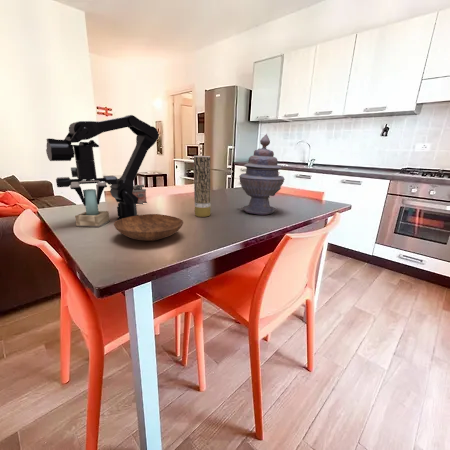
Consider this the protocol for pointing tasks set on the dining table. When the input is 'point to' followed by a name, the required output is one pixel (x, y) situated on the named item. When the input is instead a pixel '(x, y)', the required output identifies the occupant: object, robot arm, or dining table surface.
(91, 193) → the peg
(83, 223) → the socket
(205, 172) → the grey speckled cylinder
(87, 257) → the dining table surface
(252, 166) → the decorative urn
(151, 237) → the bowl
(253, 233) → the dining table surface
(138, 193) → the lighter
